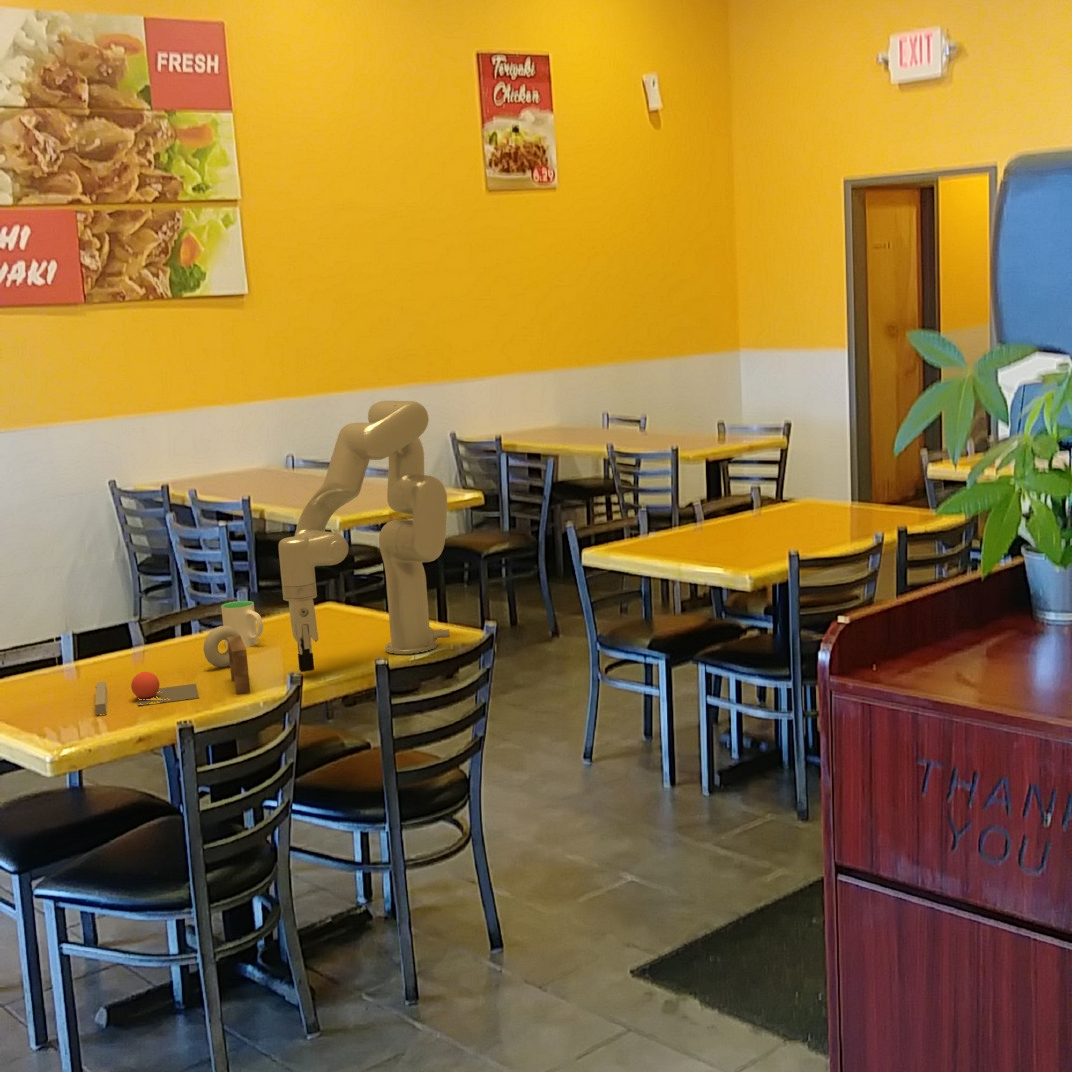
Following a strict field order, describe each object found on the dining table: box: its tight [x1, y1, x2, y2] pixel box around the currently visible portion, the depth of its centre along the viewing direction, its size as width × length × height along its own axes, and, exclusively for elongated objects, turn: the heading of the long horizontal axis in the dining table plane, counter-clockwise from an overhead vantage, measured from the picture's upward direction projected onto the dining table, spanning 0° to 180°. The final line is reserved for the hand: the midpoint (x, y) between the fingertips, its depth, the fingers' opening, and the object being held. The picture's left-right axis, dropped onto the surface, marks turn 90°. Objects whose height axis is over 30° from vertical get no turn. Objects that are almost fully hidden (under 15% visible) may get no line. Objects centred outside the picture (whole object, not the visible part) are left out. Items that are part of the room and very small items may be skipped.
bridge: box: [227, 636, 251, 695], centre depth 316 cm, size 3×15×10 cm, turn 16°
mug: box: [220, 600, 264, 648], centre depth 357 cm, size 12×8×10 cm
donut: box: [203, 625, 240, 668], centre depth 335 cm, size 10×4×10 cm, turn 133°
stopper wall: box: [94, 681, 108, 716], centre depth 309 cm, size 2×20×2 cm, turn 16°
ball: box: [130, 671, 160, 699], centre depth 311 cm, size 6×6×6 cm
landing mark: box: [136, 683, 200, 706], centre depth 313 cm, size 13×13×1 cm
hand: (306, 670), depth 321 cm, fingers closed
